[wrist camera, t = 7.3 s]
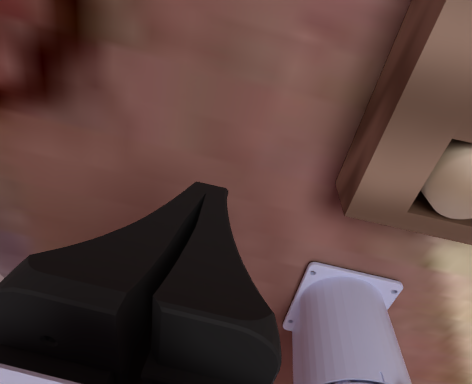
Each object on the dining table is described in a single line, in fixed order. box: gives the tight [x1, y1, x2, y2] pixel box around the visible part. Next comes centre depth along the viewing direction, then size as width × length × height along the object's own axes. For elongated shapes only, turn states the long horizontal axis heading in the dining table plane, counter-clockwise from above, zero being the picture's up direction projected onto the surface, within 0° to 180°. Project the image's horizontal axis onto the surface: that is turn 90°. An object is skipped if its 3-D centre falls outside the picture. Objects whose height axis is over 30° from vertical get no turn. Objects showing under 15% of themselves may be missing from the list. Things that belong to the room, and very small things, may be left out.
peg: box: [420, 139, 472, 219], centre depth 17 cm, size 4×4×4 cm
